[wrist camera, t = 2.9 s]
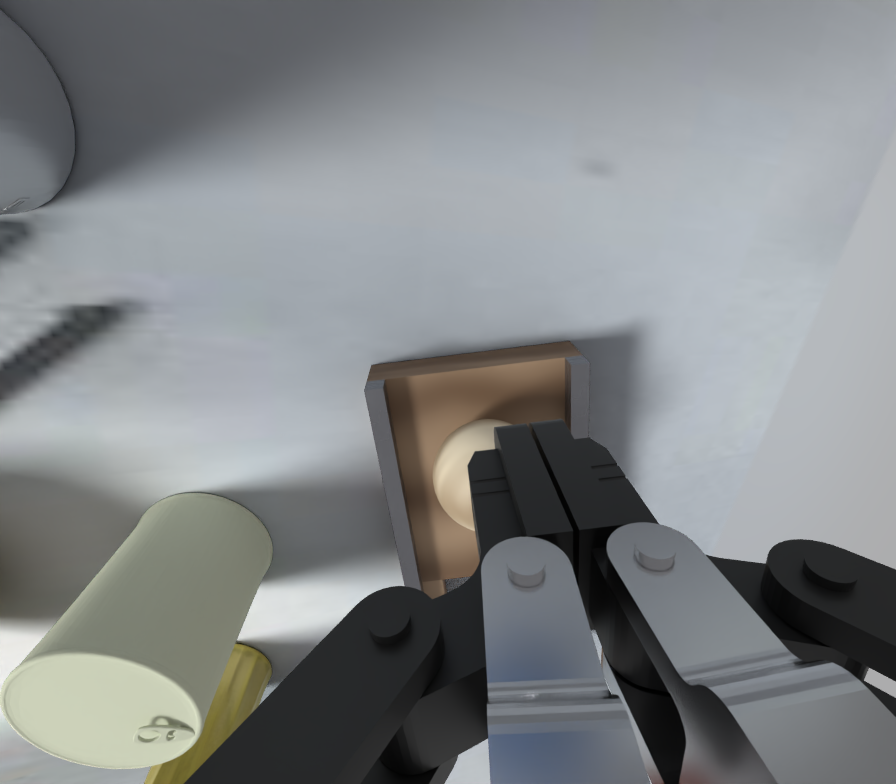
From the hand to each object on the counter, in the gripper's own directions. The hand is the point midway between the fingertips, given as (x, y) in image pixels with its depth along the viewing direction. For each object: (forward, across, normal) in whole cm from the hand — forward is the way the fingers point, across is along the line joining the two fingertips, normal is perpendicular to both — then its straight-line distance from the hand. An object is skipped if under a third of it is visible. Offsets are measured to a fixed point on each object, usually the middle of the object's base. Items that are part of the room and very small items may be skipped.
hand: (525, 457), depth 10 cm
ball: (+11, 0, +8) cm, 14 cm away
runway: (+17, 0, +16) cm, 24 cm away
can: (+17, +20, +16) cm, 31 cm away
